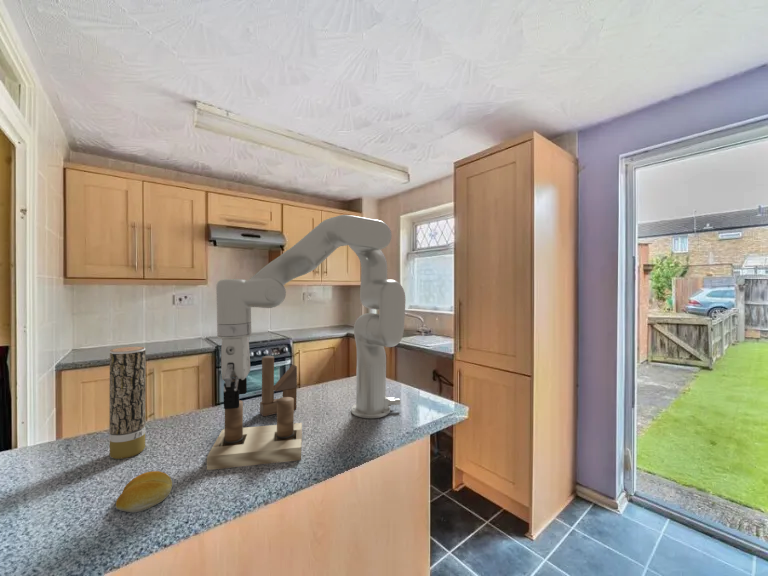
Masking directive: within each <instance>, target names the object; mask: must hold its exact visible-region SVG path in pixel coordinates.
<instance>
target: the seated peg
mask: <svg viewBox="0 0 768 576" xmlns="http://www.w3.org/2000/svg"><path fill="white" fill-rule="evenodd" d="M277 399H278V400H277V414H276V425H277V434H276V437H277V441H284V440H293V436H294V431H293V430H294V419H295V418H294V416H295V415H294V414H295V413H294V411H295V410H294V398H292V397H283V396H282V397H279V398H277Z"/></svg>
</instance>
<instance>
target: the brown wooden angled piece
mask: <svg viewBox="0 0 768 576" xmlns="http://www.w3.org/2000/svg"><path fill="white" fill-rule="evenodd" d="M297 372H298V366H296V365H295V364H292V365H291V366H290V367H289V368H287V370H286V371H285V373H284V374H283V375H282V376H281V377H280V378H279V380H277V382H276V383H275V356H274V355H265V356H262V358H261V401H260V403H259V413H260V415H261V416H262V417H267V416H271V415H277V400H278V399H279V398H276V399H275V396H274V395H275V392H280V391H282V397H292V398H294V411H295V410H297V383H298V382H297V379H298V378H297V377H298V376H297V375H298V373H297Z"/></svg>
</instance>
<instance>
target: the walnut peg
mask: <svg viewBox="0 0 768 576" xmlns="http://www.w3.org/2000/svg"><path fill="white" fill-rule="evenodd" d="M243 406H244V401H243V400H240V399H239V407H238V408H233V409H224V429H225V438H224V443H225V446H230V445H241V444H243V428H244V425H243V423H244V421H243V420H244V419H243V416H244V407H243Z"/></svg>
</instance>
